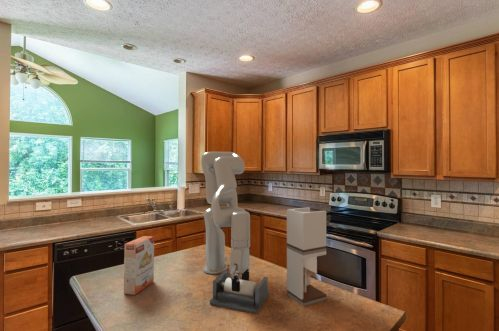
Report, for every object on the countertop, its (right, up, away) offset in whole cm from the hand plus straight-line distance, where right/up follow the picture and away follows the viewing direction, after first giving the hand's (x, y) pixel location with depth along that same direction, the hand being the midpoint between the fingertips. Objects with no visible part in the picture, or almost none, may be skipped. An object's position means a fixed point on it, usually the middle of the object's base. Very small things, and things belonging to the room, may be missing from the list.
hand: (240, 285), depth 108 cm
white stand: (+26, -6, +2) cm, 27 cm away
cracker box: (-44, -6, +10) cm, 46 cm away
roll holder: (0, -5, 0) cm, 5 cm away
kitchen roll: (0, -1, 0) cm, 1 cm away
